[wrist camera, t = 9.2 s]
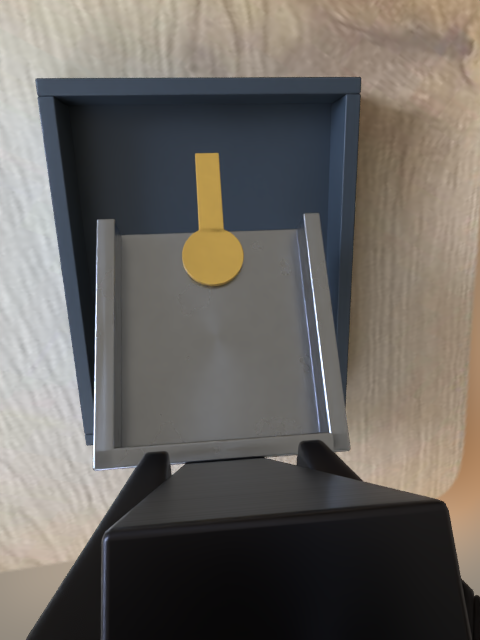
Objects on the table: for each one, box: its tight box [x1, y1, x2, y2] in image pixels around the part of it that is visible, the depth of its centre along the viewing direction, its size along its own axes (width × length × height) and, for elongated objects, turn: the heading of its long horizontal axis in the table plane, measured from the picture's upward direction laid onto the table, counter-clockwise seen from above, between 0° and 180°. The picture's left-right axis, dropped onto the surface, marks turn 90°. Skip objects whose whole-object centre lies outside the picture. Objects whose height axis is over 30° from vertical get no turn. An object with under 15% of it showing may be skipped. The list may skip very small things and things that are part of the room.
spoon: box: [182, 153, 244, 286], centre depth 16 cm, size 5×2×1 cm, turn 0°
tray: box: [35, 77, 361, 445], centre depth 20 cm, size 15×12×2 cm
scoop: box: [93, 213, 472, 640], centre depth 9 cm, size 10×8×12 cm
